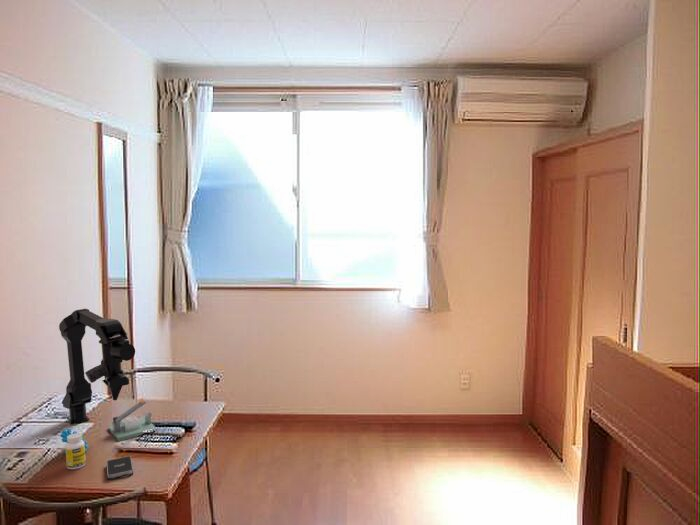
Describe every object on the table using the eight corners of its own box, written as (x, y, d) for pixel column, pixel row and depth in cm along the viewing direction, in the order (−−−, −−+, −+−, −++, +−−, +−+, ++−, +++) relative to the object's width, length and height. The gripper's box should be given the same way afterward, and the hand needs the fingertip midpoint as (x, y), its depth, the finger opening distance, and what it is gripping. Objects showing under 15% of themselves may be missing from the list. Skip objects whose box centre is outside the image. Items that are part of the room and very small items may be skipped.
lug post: (145, 425, 203) (144, 410, 202) (148, 424, 203) (147, 409, 203) (148, 428, 199) (147, 413, 199) (152, 427, 200) (151, 412, 199)
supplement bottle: (73, 471, 168) (70, 440, 167) (63, 467, 170) (60, 437, 169) (89, 464, 172) (87, 434, 171) (79, 460, 175) (77, 430, 174)
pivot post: (112, 432, 196) (111, 417, 196) (118, 431, 198) (117, 416, 197) (115, 436, 193) (114, 421, 192) (121, 434, 194) (120, 419, 194)
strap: (118, 422, 194) (115, 419, 194) (116, 420, 196) (114, 417, 195) (146, 403, 199) (143, 399, 199) (144, 401, 201) (142, 398, 201)
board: (108, 428, 200) (108, 425, 200) (145, 419, 208) (144, 416, 208) (118, 441, 189) (118, 437, 189) (156, 431, 197) (156, 427, 196)
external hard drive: (108, 482, 161) (107, 475, 161) (107, 466, 171) (106, 460, 171) (133, 476, 164) (132, 470, 164) (131, 461, 174) (130, 455, 174)
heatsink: (121, 426, 199) (120, 419, 199) (135, 422, 202) (135, 415, 202) (125, 431, 194) (125, 423, 194) (140, 427, 197) (139, 420, 197)
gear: (80, 453, 176) (58, 432, 176) (67, 467, 176) (44, 446, 176) (95, 443, 187) (74, 423, 187) (83, 456, 187) (61, 436, 187)
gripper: (81, 355, 194) (84, 398, 195) (92, 366, 179) (96, 413, 180) (114, 349, 200) (117, 391, 202) (127, 360, 185) (131, 405, 187)
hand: (115, 400), depth 193 cm, fingers closed
